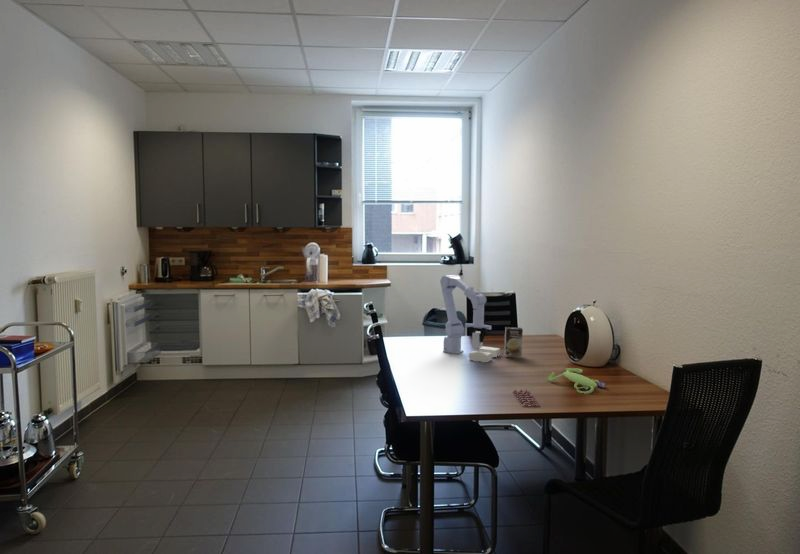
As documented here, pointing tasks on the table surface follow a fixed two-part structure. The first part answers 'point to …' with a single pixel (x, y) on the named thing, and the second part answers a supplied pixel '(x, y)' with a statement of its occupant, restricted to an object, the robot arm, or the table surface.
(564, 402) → the table surface
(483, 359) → the white block pair
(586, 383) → the figurine
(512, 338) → the coffee box
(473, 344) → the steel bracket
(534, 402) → the chocolate bar
